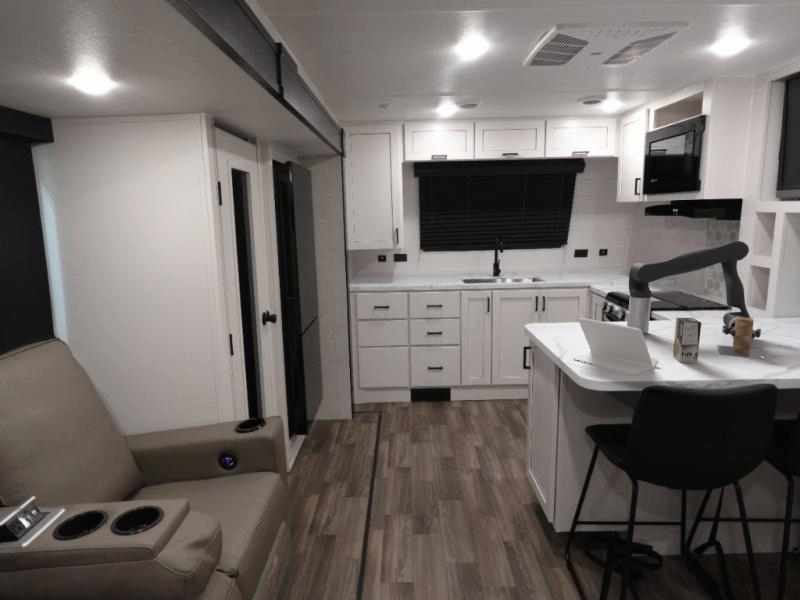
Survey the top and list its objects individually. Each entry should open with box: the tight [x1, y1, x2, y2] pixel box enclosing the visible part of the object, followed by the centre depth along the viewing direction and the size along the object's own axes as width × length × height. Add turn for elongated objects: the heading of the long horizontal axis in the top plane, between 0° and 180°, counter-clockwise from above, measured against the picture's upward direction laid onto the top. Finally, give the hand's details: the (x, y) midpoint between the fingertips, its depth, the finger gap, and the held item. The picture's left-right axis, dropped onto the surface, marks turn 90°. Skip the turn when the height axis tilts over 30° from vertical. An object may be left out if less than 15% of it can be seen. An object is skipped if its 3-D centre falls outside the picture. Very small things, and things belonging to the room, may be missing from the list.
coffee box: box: [672, 317, 702, 364], centre depth 199 cm, size 9×6×16 cm
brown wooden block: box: [732, 317, 754, 355], centre depth 209 cm, size 6×6×14 cm
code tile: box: [716, 344, 767, 361], centre depth 210 cm, size 16×16×1 cm
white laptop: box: [573, 317, 659, 377], centre depth 196 cm, size 18×25×17 cm
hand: (743, 335), depth 207 cm, fingers closed on brown wooden block, 5 cm apart
